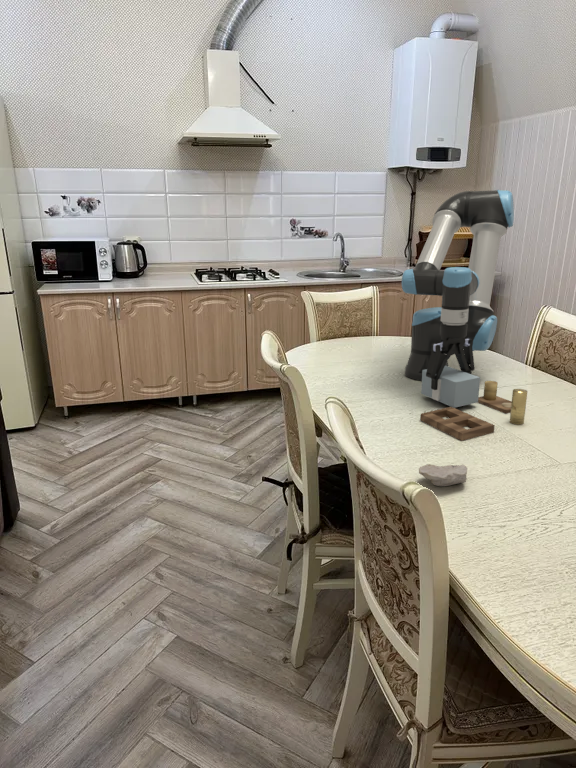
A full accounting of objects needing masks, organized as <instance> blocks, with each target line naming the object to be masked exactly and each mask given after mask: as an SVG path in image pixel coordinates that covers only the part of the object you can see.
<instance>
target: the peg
mask: <svg viewBox="0 0 576 768" xmlns="http://www.w3.org/2000/svg"><path fill="white" fill-rule="evenodd" d="M511 395H512V396H511V401H512V403H511V412H510V414H509V423H510V424H512V425H517V426H522V425H524V423H525V415H526V406H527V399H528V390H527V389H523V388H514V389H512V393H511Z"/></svg>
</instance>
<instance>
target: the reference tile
mask: <svg viewBox="0 0 576 768" xmlns="http://www.w3.org/2000/svg"><path fill="white" fill-rule="evenodd" d="M483 386H484V387H483V395H482V396H479V397H478V402H477V404H481V405H482V406H485V407H488V408H491V409H493V410H496V411H498V412H501V413H504V414H509V413H510V412H511V403H512V400H509V399H506V398H503V397H500V396H497V393H498V382H497V381H494V380H486V381H484V385H483Z"/></svg>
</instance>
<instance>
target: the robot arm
mask: <svg viewBox="0 0 576 768" xmlns="http://www.w3.org/2000/svg"><path fill="white" fill-rule="evenodd" d="M514 213H515V208H514V197H513V193H512V191H510V190H507V189H506V190H504V189H503V190H501V189H496V190H494V189H493V190H474V191H473V190H471V191H469V190H468V191H467V190H465V191H461V192H458V193H455V194H454V195H452V196H450V197H449V198H447V199H446V200H445V201H444V202H443V203H442V204H441V205H440V206H439V207H438V208H437V209H436V211H435V213H434V215H433V217H432V219H431V221H432V222H431V223H432V227H431V230H430V232H429V234H428V237H427V239H426V242H425V243H424V245H423V248H422V250H421V253H420V255H419V257H418V259H417V262H416V264H415V267H414V268H411V269H409V268H408V269H406V270H404V271H403V273H402V277H401V288H402V289H401V290H402V292H403V293H405V294H408V295H409V294H411V295H416V296H417V295H418V296H439V297H440V296H441V306H440V307H439V306H437V307H435V306H434V307H428V308H423V309H422V308H421V309H418V310H416V311H415V312H414V313H413V316H412V323H411V341H410V342H411V346H410V354H409V357H408V360H407V363H406V365H405V366H404V367H405V368H404V375H405V376H406V377H407V378H409V379H412V380H416V381H421V382H422V370H425V369H427V372H426V376H427V377H429V378H431V389H432V398H431V399H432V400H434V401H437V402H439V401H440V393H441V379H439V378H440V375H441V373H442V371H443V369H444V367H445V366H448V367H450V366H449V361H448V360H449V359H450V358H451V356H454V355H455V357H456V361H457V364H458V366H459V370H460V371H463V372H466V373H469V374H472V373H473V372H474V371H475V367H476V366H475V361H474V353H473V352H477V351H478V352H480V351H481V352H485V351H487V350H489V348H490V347H491V345H492V343H493V341H494V338H495V334H496V332H497V327H498V325H497V324H498V317H497V316H496V315H494V312H495V311H494V310H493V308H492V307H491V306H490V305H491V299H492V294H493V286H494V281H495V276H496V268H497V263H498V257H499V250H500V245H501V238H502V237H503V236H505V235H506V234H507V232H508V228H511V227H513V226H514V219H515V214H514ZM464 227H465V228H470V229H469V231H470V232H471V234H472V235H473V238H472V246H471V252H470V255H469V256H470V257H469V263H468V267H464V266H462V267H461V266H455V267H451V266H450V267H446V268H445V269H444V270H441V268H442V265H443V263H444V260H445V259H446V255H447V254H448V251H449V248H450V247H451V243H452V240H453V238H454V236H455V234H456V233H457V232H458V231H459V230H460V228H464Z"/></svg>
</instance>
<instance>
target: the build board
mask: <svg viewBox="0 0 576 768" xmlns="http://www.w3.org/2000/svg"><path fill="white" fill-rule="evenodd" d="M445 418H446V419H445ZM419 420H421V421H420V422H422V421H423V422H422V423H424V422H425V423H424V424H426V423H427V425H428V424H429V426H430V425H431V427H432V426H433V428H434V427H435V429H437V430H439V431H441V432H442V433H445V434H447V435H449V436H451V437H453V438H455V439H457V440H459V441H461V442H463V441H466V440H470V439H474V438H478V437H482V436H485V435H489V434H492V433H493V434H494V433H495V424H493V423H490V422H488V421H485V420H484V419H481V418H478V417H476V416H475V415H472V414H470V413H467V412H464V411H462V410H460V409H458V408H456V407H455V408H453V407H451V406H449V407H444V408H440V409H436V410H430V411H427V412H422V413H420V419H419ZM465 427H468V429H467V428H465Z"/></svg>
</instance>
